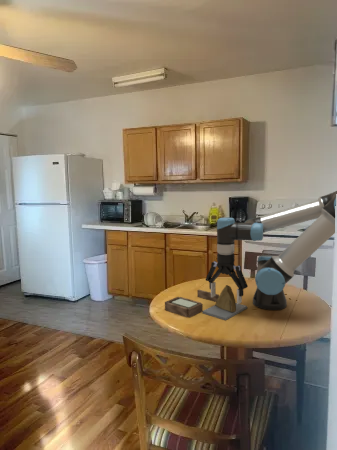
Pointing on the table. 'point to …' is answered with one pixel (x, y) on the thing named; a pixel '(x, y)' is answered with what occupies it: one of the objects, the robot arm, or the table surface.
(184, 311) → the brown frame and bar
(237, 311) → the board
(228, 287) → the rock
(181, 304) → the pale grey-green block
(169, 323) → the table surface
